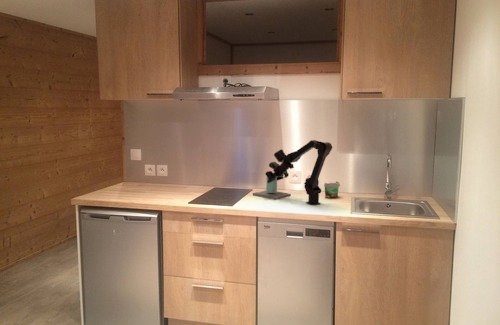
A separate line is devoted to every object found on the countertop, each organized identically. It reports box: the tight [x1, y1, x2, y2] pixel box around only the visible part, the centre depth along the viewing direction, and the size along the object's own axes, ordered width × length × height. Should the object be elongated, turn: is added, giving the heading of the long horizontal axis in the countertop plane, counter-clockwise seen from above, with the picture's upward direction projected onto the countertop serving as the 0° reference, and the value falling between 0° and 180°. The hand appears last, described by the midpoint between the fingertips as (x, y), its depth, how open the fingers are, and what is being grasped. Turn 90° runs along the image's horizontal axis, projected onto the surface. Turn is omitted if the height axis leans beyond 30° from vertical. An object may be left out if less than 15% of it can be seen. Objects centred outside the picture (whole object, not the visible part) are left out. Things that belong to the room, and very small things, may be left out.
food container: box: [323, 181, 341, 199], centre depth 250 cm, size 12×6×10 cm, turn 126°
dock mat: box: [252, 189, 292, 201], centre depth 256 cm, size 20×16×2 cm
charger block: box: [265, 176, 278, 193], centre depth 255 cm, size 5×5×11 cm
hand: (270, 182), depth 256 cm, fingers closed on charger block, 5 cm apart
